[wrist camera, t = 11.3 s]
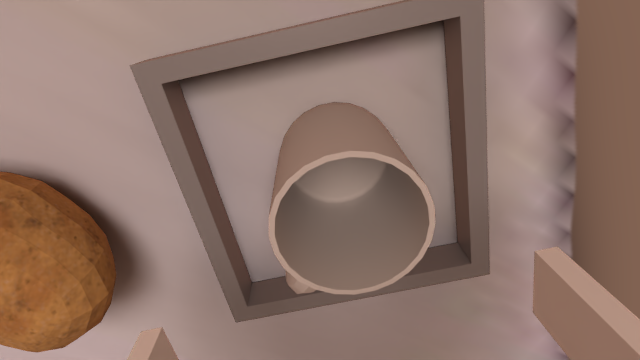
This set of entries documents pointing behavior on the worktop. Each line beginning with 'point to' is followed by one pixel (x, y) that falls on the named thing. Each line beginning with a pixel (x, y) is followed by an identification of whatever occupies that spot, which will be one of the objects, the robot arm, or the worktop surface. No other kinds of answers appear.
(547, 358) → the worktop surface
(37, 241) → the potato
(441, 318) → the worktop surface
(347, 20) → the tray
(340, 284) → the cup
